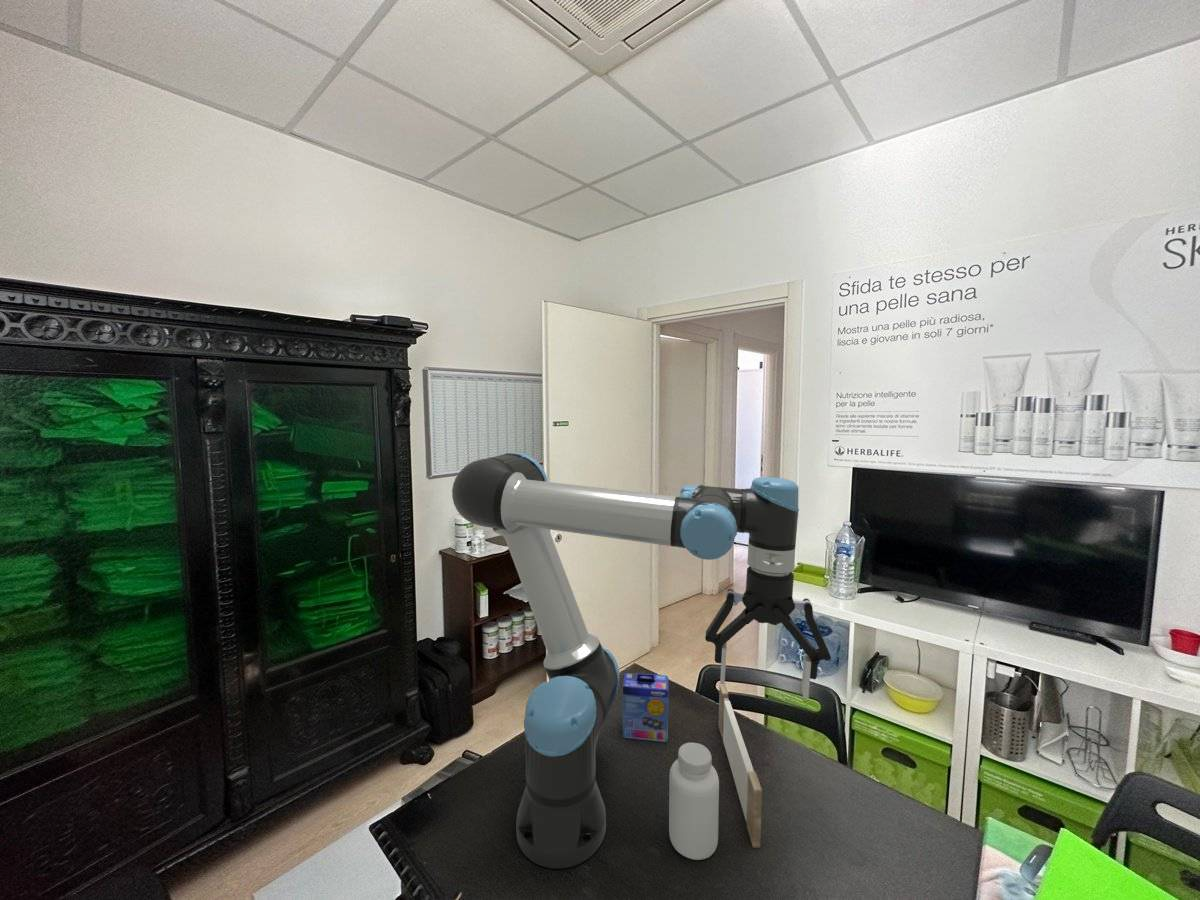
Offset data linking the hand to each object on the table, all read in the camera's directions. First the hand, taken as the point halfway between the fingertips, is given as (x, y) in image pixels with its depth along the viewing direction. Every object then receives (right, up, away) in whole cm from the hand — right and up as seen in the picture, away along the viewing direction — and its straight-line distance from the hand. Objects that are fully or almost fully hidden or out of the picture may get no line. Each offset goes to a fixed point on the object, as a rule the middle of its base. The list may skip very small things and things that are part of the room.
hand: (762, 687), depth 82 cm
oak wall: (-2, -22, +8) cm, 23 cm away
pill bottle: (-13, -23, -5) cm, 27 cm away
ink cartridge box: (-19, -21, +21) cm, 35 cm away
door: (-2, -21, +9) cm, 23 cm away
